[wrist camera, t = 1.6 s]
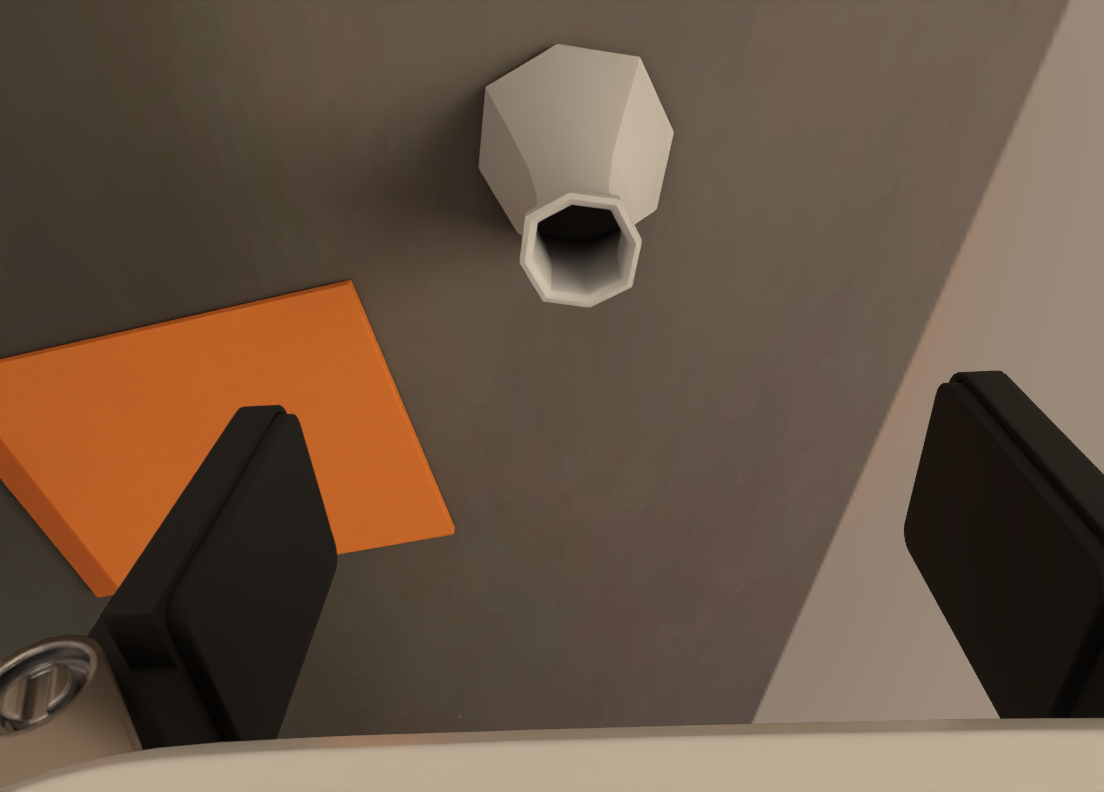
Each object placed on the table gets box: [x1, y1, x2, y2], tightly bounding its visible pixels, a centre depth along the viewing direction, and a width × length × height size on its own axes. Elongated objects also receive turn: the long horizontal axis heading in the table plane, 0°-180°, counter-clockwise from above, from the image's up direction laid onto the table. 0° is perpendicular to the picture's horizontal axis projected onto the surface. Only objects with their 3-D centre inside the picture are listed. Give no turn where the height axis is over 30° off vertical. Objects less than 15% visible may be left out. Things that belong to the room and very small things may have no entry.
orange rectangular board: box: [0, 280, 455, 598], centre depth 36 cm, size 14×20×1 cm
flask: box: [478, 44, 674, 308], centre depth 24 cm, size 7×7×10 cm
